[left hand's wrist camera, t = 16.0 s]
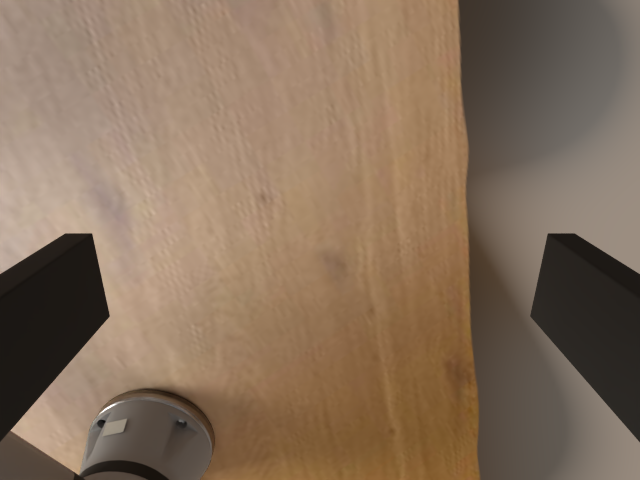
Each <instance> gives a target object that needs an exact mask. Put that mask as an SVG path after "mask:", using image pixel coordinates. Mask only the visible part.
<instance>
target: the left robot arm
mask: <svg viewBox="0 0 640 480" xmlns="http://www.w3.org/2000/svg"><path fill="white" fill-rule="evenodd" d="M109 316H110V315H109V311H108V306H107V301H106V297H105V292H104V287H103V283H102V278H101V273H100V268H99V264H98V259H97V254H96V250H95V245H94V240H93V236H92V234H64V235H62V236H61V237H59V238H58V239H56V240H54V241H53V242H51V243H50V244H48V245H46V246H45V247H43V248H42V249H40V250H38V251H37V252H35V253H34V254H32V255H30V256H29V257H27V258H26V259H24V260H22V261H21V262H19V263H18V264H16V265H14V266H13V267H11V268H9V269H8V270H6V271H5V272H3V273H1V274H0V480H200V478H201V477H202V476H203V474H204V473H205V471H206V470H207V468H208V466H209V464H210V461H211V457H212V454H213V450H214V445H215V437H214V432H213V429H212V427H211V424H210V423H209V421H208V419H207V418H206V417H205V415H204V414H203V413H202V412H201V411H200V410H199V409H198V408H197V407H195V406H194V405H193V404H191V403H190V402H188V401H187V400H185V399H183V398H181V397H178V396H176V395H173V394H170V393H167V392H162V391H156V390H137V391H131V392H127V393H124V394H121V395H119V396H117V397H115V398H113V399H112V400H110V401H109V402H108V403H106V404H105V405H104V407H103V408H102V409H101V410H100V412H99V413H98V415H97V416H96V418H95V420H94V421H93V423H92V425H91V427H90V430H89V434H88V438H87V443H86V447H85V452H84V456H83V461H82V465H81V470H80V474H79V475H78V474H76V473H75V472H73V471H71V470H70V469H68V468H67V467H65V466H64V465H62V464H61V463H59V462H58V461H56V460H54V459H53V458H51V457H50V456H48V455H47V454H45V453H44V452H42V451H41V450H39V449H38V448H36V447H35V446H33V445H31V444H30V443H28V442H27V441H25V440H24V439H22V438H21V437H19V436H18V435H16V434H15V433H13V432H12V431H10V430H11V429H12V428H13V427H14V426H15V424H16V423H17V422H18V421H19V420H20V419H21V418H22V416H23V415H24V414H25V413H26V412H27V411H28V410H29V408H30V407H31V406H32V405H33V404H34V403H35V402H36V400H37V399H38V398H39V397H40V396H41V395H42V393H43V392H44V391H45V390H46V389H47V388H48V387H49V385H50V384H51V383H52V382H53V381H54V380H55V379H56V377H57V376H58V375H59V374H60V373H61V372H62V370H63V369H64V368H65V367H66V366H67V365H68V364H69V362H70V361H71V360H72V359H73V358H74V357H75V356H76V354H77V353H78V352H79V351H80V350H81V349H82V347H83V346H84V345H85V344H86V343H87V342H88V341H89V339H90V338H91V337H92V336H93V335H94V334H95V333H96V331H97V330H98V329H99V328H100V327H101V326H102V324H103V323H104V322H105V321H106V320H107V319H108V318H109ZM530 316H531V318H532V319H533V320H534V321H535V322H536V323H537V324H538V326H539V327H540V328H541V329H542V330H543V331H544V333H545V334H546V335H547V336H548V337H549V338H550V339H551V341H552V342H553V343H554V344H555V345H556V346H557V347H558V349H559V350H560V351H561V352H562V353H563V354H564V356H565V357H566V358H567V359H568V360H569V361H570V362H571V364H572V365H573V366H574V367H575V368H576V369H577V370H578V372H579V373H580V374H581V375H582V376H583V377H584V379H585V380H586V381H587V382H588V383H589V384H590V385H591V387H592V388H593V389H594V390H595V391H596V392H597V393H598V395H599V396H600V397H601V398H602V399H603V400H604V402H605V403H606V404H607V405H608V406H609V407H610V408H611V410H612V411H613V412H614V413H615V414H616V415H617V416H618V418H619V419H620V420H621V421H622V422H623V423H624V424H625V426H626V427H627V428H628V429H629V430H630V431H631V433H632V434H633V435H634V436H635V437H636V438H637V439H638V441H639V442H640V274H638V273H637V272H635V271H634V270H632V269H630V268H629V267H627V266H626V265H624V264H622V263H621V262H619V261H618V260H616V259H614V258H613V257H611V256H610V255H608V254H606V253H605V252H603V251H602V250H600V249H598V248H597V247H595V246H594V245H592V244H590V243H589V242H587V241H586V240H584V239H582V238H581V237H579V236H578V235H576V234H548V236H547V240H546V245H545V250H544V254H543V259H542V264H541V268H540V273H539V278H538V282H537V287H536V292H535V297H534V301H533V306H532V311H531V315H530Z"/></svg>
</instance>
